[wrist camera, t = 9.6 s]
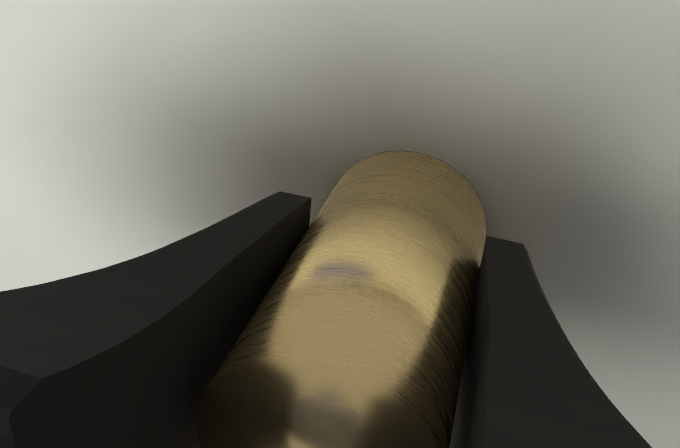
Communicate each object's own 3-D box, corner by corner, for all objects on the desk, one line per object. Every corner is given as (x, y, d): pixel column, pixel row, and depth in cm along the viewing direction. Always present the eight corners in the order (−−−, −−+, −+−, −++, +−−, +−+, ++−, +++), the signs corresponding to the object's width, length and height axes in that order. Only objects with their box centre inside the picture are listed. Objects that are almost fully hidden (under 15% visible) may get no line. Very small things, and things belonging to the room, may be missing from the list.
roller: (502, 169, 12) (466, 403, 7) (469, 306, 14) (420, 573, 9) (335, 136, 13) (191, 330, 8) (323, 271, 14) (199, 502, 9)
